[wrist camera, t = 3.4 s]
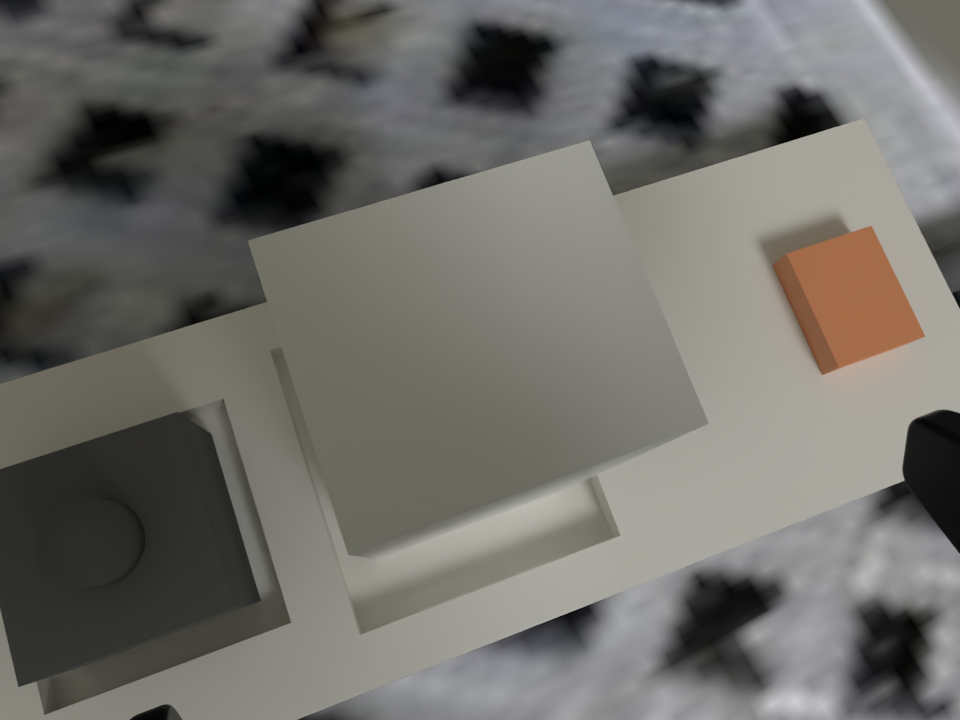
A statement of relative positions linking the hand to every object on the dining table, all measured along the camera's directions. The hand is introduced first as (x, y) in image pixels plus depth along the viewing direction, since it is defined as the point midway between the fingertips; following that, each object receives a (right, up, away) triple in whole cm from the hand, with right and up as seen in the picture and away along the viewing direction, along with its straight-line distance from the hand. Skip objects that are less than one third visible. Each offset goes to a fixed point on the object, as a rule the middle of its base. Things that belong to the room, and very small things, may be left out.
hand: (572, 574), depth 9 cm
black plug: (-8, -2, +9) cm, 13 cm away
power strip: (+1, +1, +12) cm, 12 cm away
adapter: (-2, 0, +10) cm, 11 cm away
